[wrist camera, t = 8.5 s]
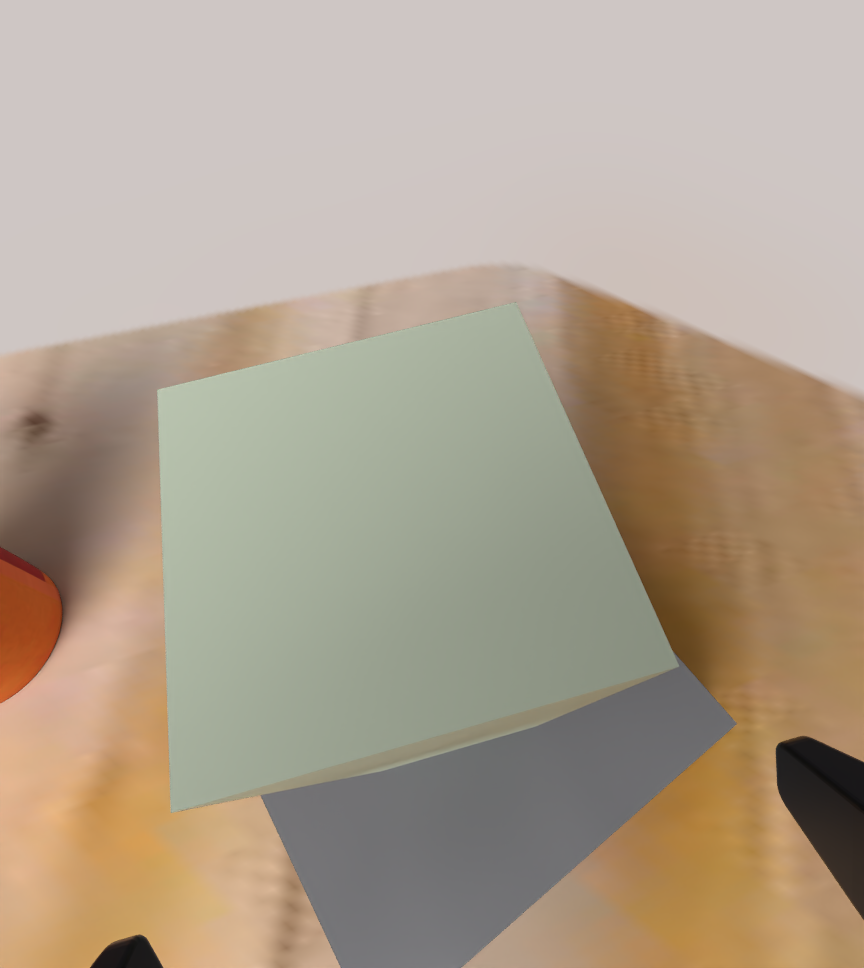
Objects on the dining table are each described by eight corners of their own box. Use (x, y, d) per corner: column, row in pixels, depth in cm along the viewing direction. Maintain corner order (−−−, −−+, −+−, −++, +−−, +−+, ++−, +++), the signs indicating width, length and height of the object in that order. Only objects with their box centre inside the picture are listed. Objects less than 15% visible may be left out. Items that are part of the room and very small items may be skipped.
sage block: (535, 726, 16) (679, 667, 5) (382, 771, 15) (171, 813, 5) (488, 578, 18) (516, 302, 7) (352, 615, 17) (156, 389, 7)
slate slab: (703, 727, 17) (736, 723, 15) (389, 1000, 15) (376, 1042, 13) (478, 463, 22) (478, 431, 20) (212, 637, 20) (180, 622, 18)
